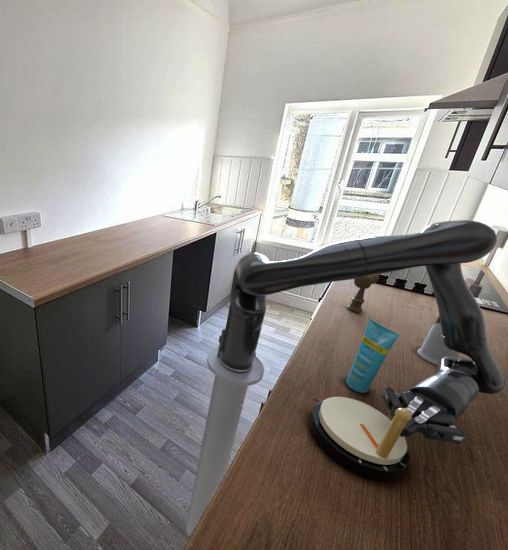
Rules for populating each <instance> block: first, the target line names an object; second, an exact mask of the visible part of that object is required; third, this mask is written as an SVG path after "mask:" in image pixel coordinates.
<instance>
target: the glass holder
mask: <svg viewBox="0 0 508 550" xmlns="http://www.w3.org/2000/svg"><path fill="white" fill-rule="evenodd" d="M416 353H417V354H418V355H419V356H420V358H421V359H424V360H426V361H427V362H429V363H431V364H434V365H436V366H437V364H438V361H439V360H440V359H441V358H443V357H449V356H452V357H458V356H459V355H460V353H459V352H456V351H453V350H450V349H448V348H447V347H446V346H445V345H444V343H443V338H442V331H441V324H440V316H439V315H438V316H437V318H436V320H435V321H434V323H433V324H432V326H431V328H430V330H429V332H428V334H427V336H426V337H425V339H424V341H423V343H422V345H421V347H420V348H418V349H417V351H416Z"/></svg>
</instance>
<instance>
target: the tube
mask: <svg viewBox="0 0 508 550" xmlns="http://www.w3.org/2000/svg"><path fill="white" fill-rule="evenodd" d="M399 336H400V333H398V332H396V331H394V330H392V329H390V328H388V327H386V326H384V325H382V324H380V323H378V322H377V321H376V320H373V319H372V318H371V317H369V318H368V321H367V324H366V328H365V330H364V334H363V336H362V339H361V343H360V344H359V348H358V349H357V352H356V355H355V358H354V361H353V363H352V366H351V368H350V371H349V373H348V376H347V378H346V381H345V383H346V385H347V386H348V388H350V389H351V390H352V391H355V392H357V393H361V394H365V393H367V392H368V391H369V389H370V388H371V386H372V384H373V381H374V380H375V378H376V376H377V375H378V372H379V371H380V369H381V367H382V365H383V363H384V361H385V360H386V358H387V356H388V354H389V353H390V351H391V349H392V347H393V346H394V344H395V342H397V340H398V339H399Z"/></svg>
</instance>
